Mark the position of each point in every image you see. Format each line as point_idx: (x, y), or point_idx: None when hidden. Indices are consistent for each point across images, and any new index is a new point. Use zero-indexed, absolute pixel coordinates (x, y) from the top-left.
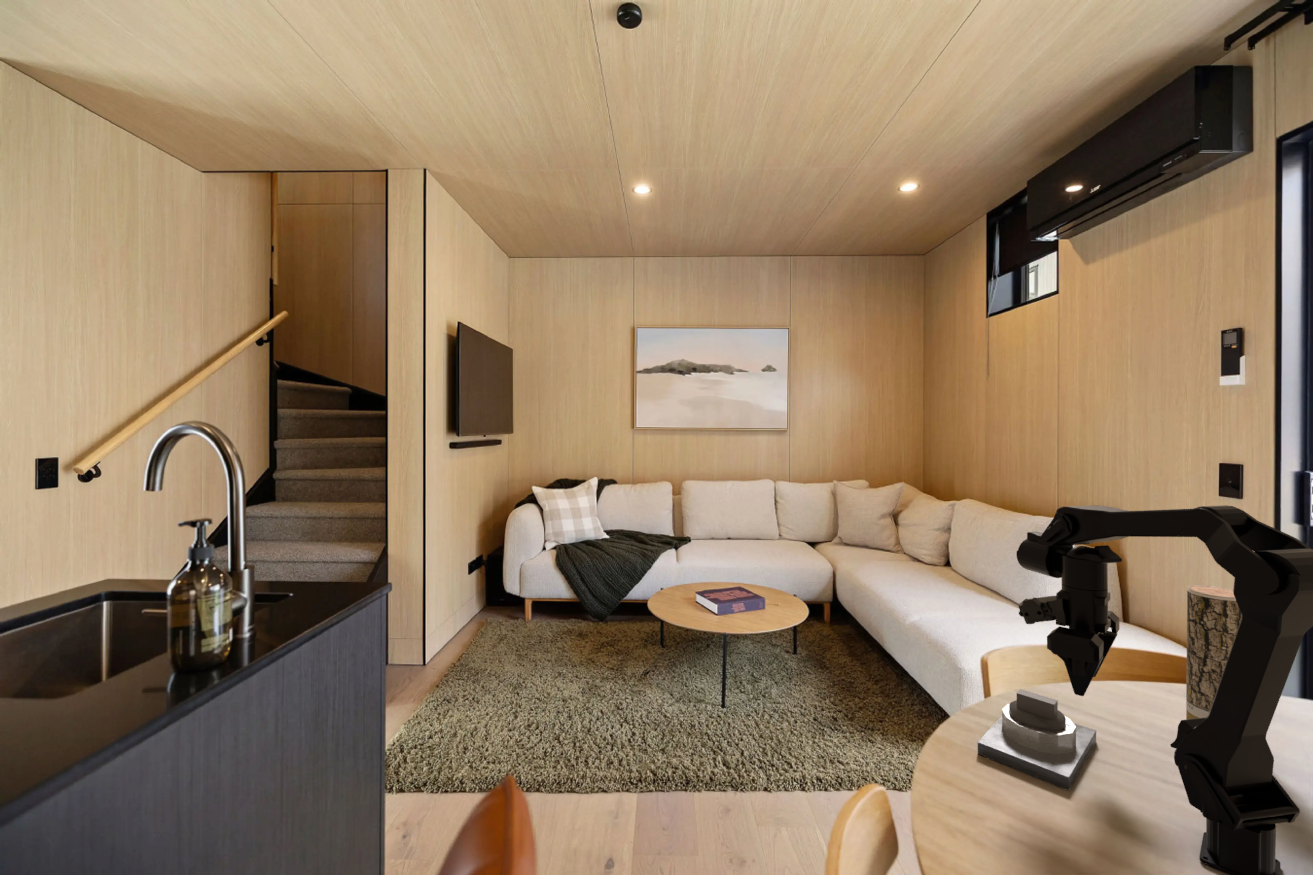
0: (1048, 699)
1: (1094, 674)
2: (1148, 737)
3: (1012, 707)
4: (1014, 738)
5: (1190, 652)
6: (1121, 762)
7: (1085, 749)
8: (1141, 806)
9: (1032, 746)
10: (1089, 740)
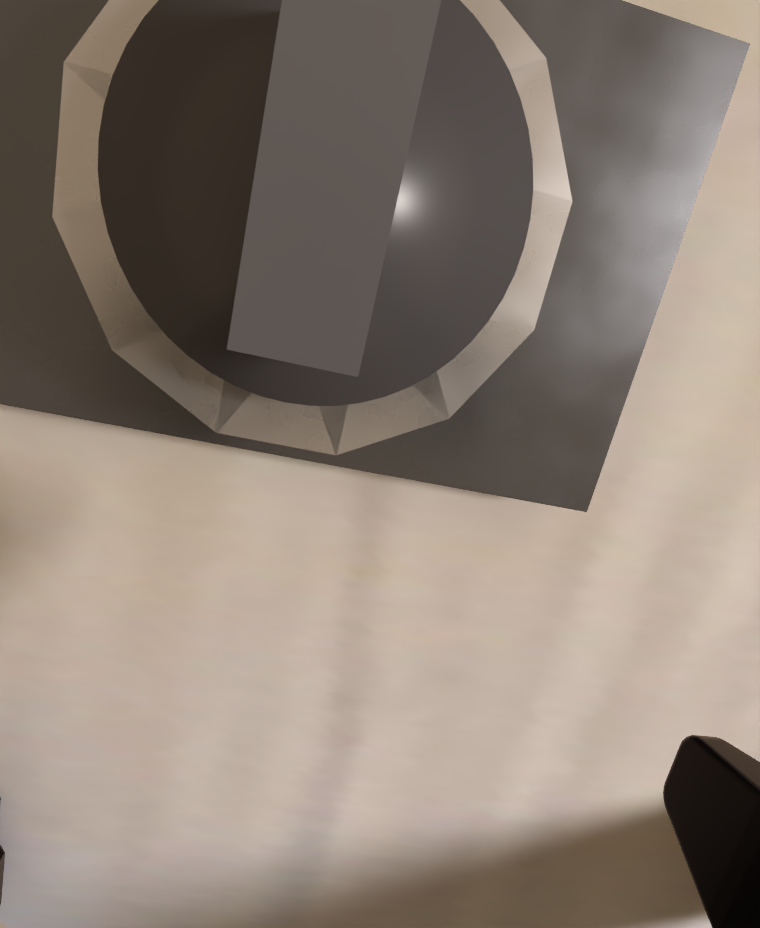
0: (328, 296)
1: (680, 819)
2: (717, 667)
3: None
4: None
5: None
6: (412, 574)
7: (325, 461)
8: (57, 627)
9: None
10: (441, 481)
